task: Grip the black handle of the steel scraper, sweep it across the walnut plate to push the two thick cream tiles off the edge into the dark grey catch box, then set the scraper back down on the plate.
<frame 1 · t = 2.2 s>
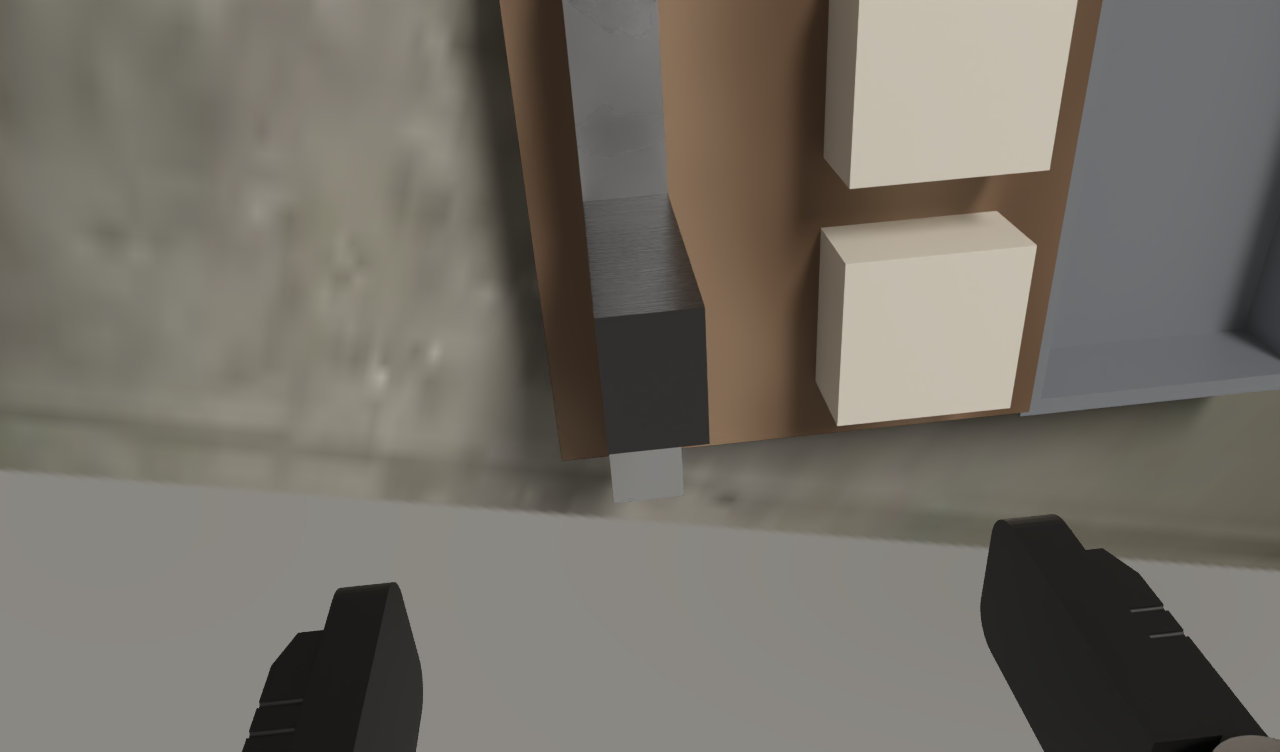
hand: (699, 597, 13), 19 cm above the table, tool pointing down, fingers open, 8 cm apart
cream tile 1: (923, 52, 24), point 4 cm above the table, touching walnut plate
cream tile 2: (902, 299, 27), point 4 cm above the table, touching walnut plate
steel scraper: (621, 212, 25), point 4 cm above the table, touching walnut plate
catch box: (1165, 114, 29), on the table
walnut plate: (773, 151, 29), on the table
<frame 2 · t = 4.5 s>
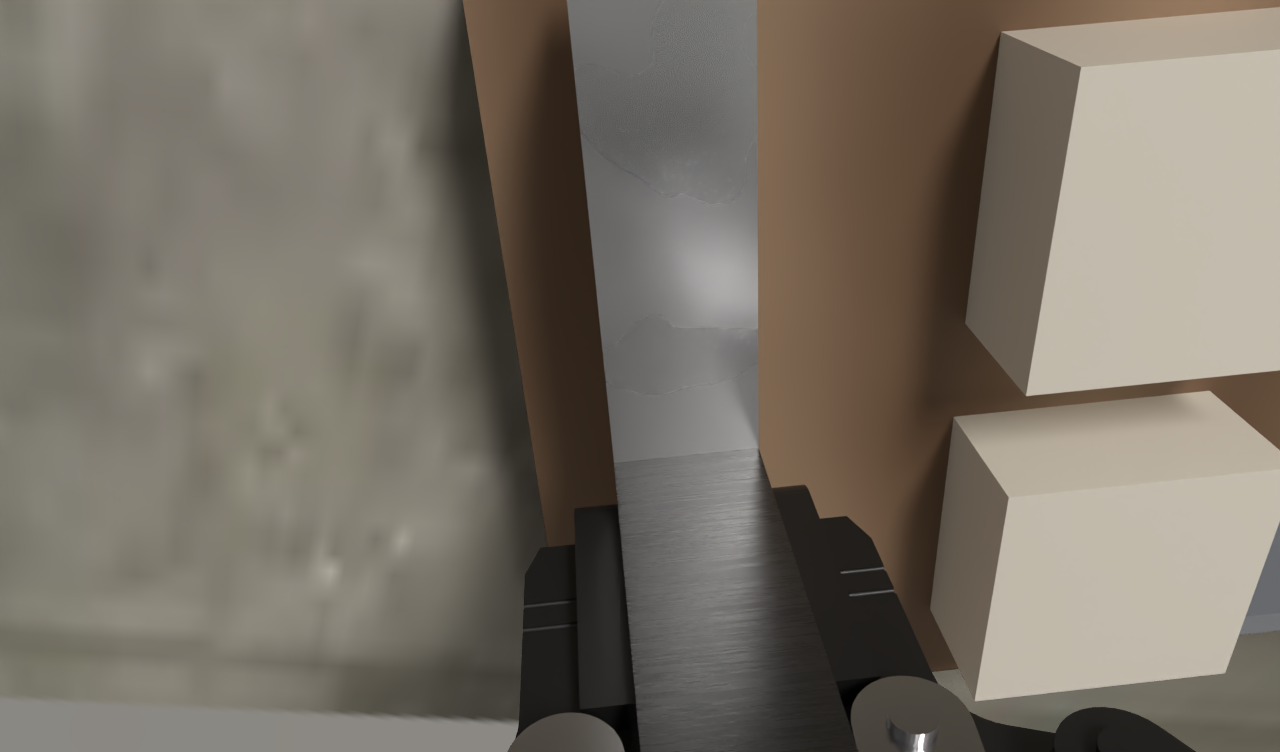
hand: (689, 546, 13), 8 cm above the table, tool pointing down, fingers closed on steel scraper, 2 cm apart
cream tile 1: (1128, 175, 15), point 4 cm above the table, touching walnut plate
cream tile 2: (1061, 506, 19), point 4 cm above the table, touching walnut plate
steel scraper: (669, 425, 16), point 5 cm above the table, touching gripper
walnut plate: (869, 283, 21), on the table
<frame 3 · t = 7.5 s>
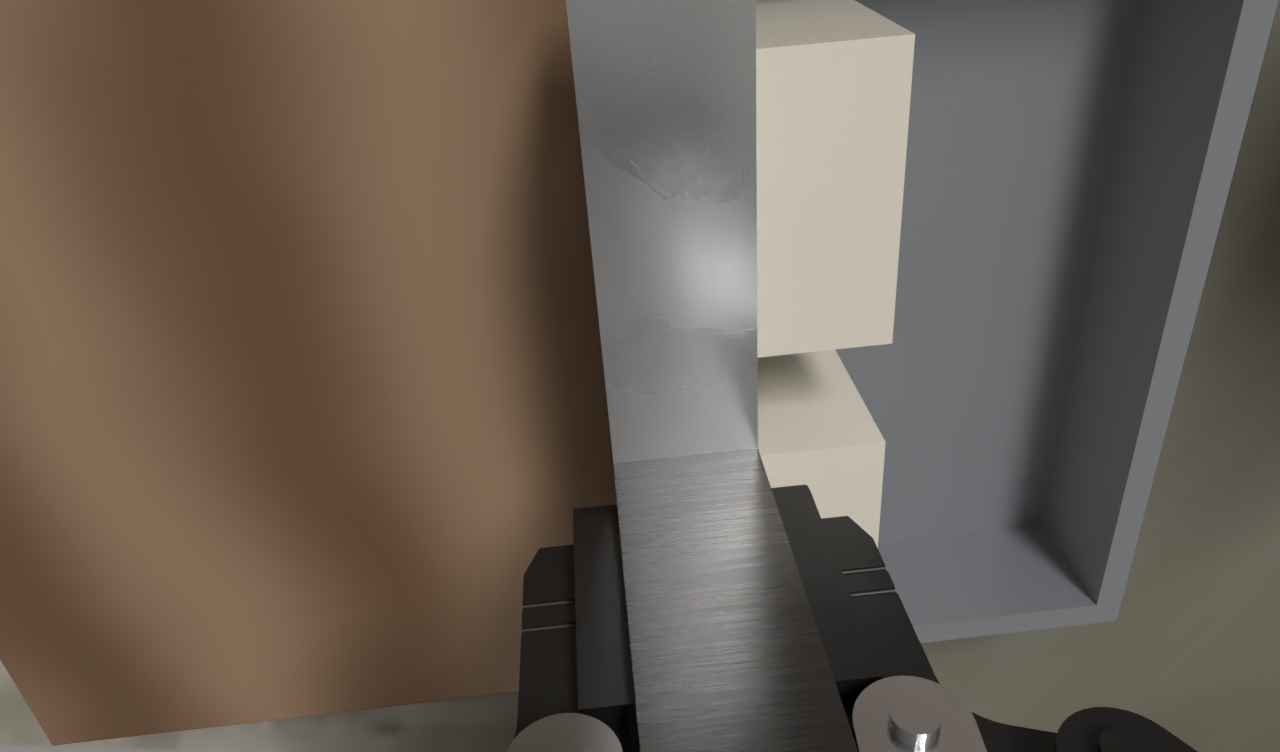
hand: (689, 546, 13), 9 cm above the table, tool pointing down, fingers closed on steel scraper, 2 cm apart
cream tile 1: (718, 168, 16), point 3 cm above the table, tilted 90°, touching catch box
cream tile 2: (728, 483, 20), point 3 cm above the table, tilted 90°, touching catch box
steel scraper: (668, 426, 16), point 6 cm above the table, touching gripper
catch box: (890, 261, 21), on the table
walnut plate: (336, 317, 21), on the table
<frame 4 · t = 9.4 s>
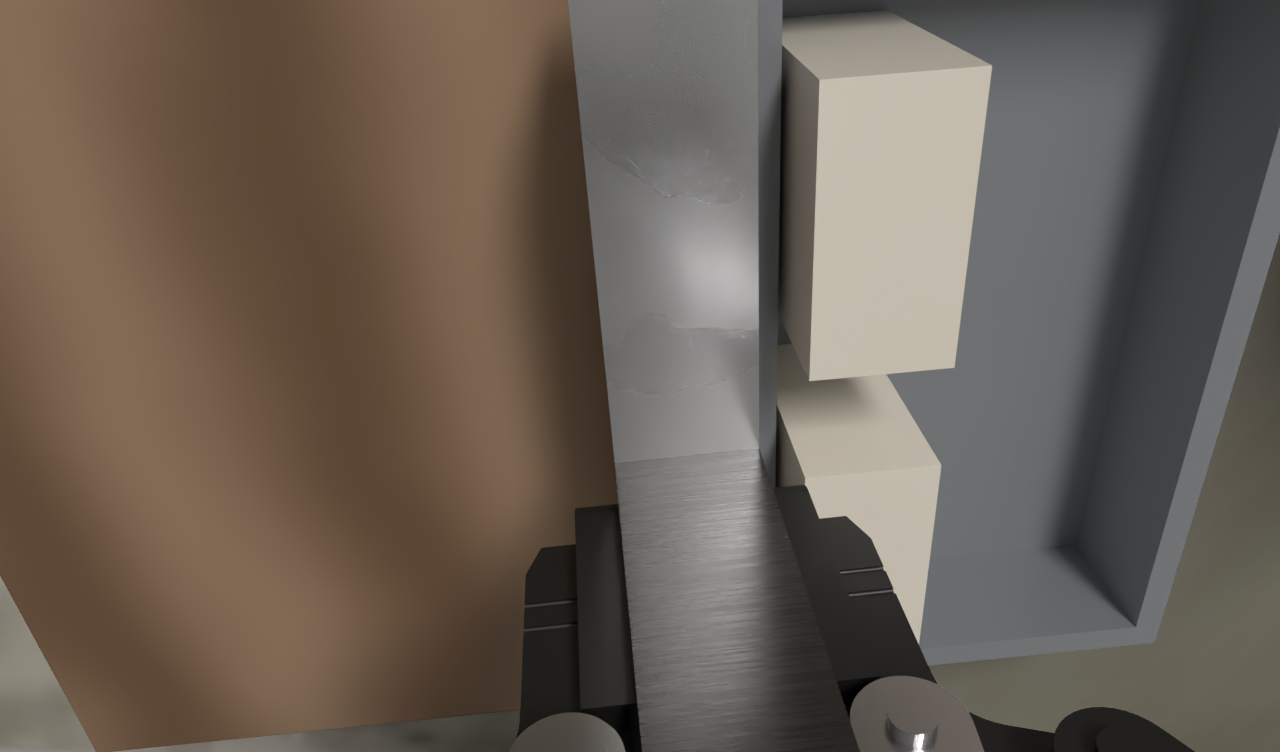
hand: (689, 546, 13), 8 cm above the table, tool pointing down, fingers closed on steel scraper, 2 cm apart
cream tile 1: (781, 191, 17), point 3 cm above the table, tilted 90°, touching catch box
cream tile 2: (775, 502, 20), point 3 cm above the table, tilted 90°, touching catch box
steel scraper: (669, 426, 16), point 5 cm above the table, touching gripper
catch box: (937, 282, 21), on the table
walnut plate: (386, 331, 21), on the table
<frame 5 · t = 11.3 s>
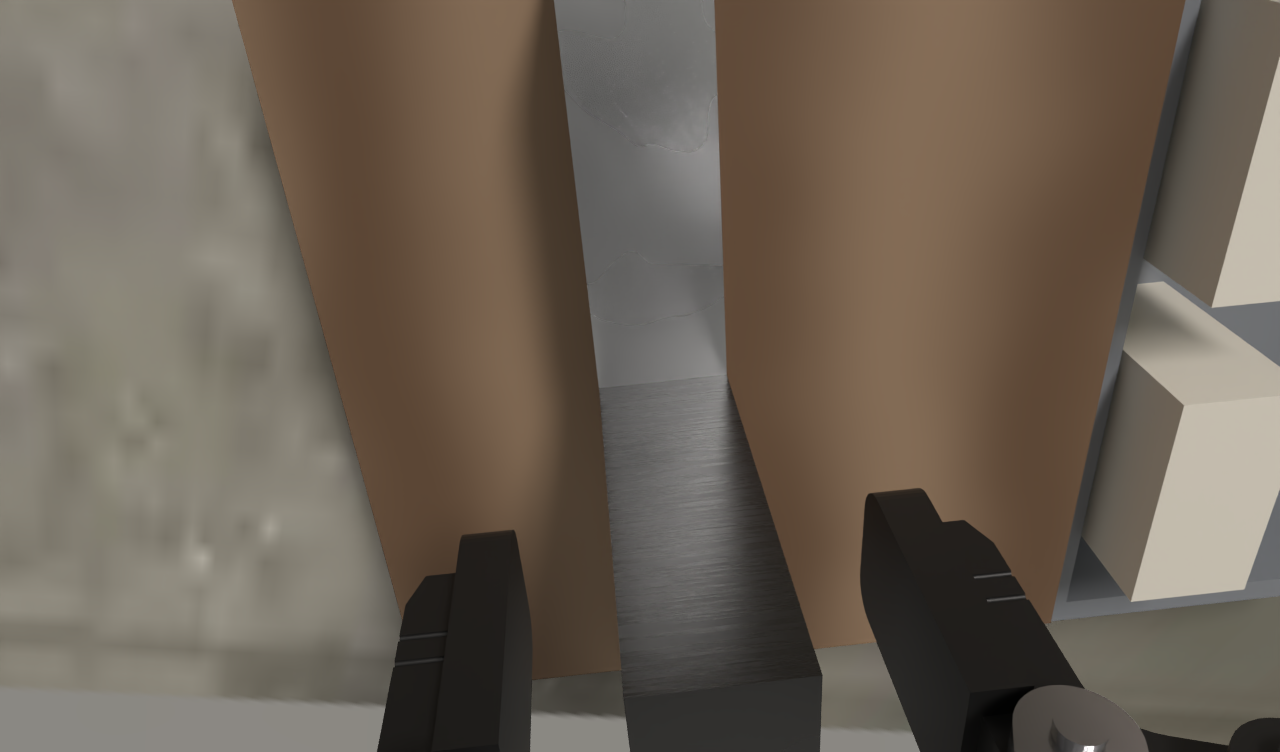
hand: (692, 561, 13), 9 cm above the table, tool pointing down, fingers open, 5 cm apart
cream tile 1: (1162, 127, 17), point 3 cm above the table, tilted 90°, touching catch box
cream tile 2: (1093, 440, 21), point 3 cm above the table, tilted 90°, touching catch box
steel scraper: (652, 368, 18), point 4 cm above the table, touching walnut plate
catch box: (1234, 227, 22), on the table
walnut plate: (705, 278, 21), on the table
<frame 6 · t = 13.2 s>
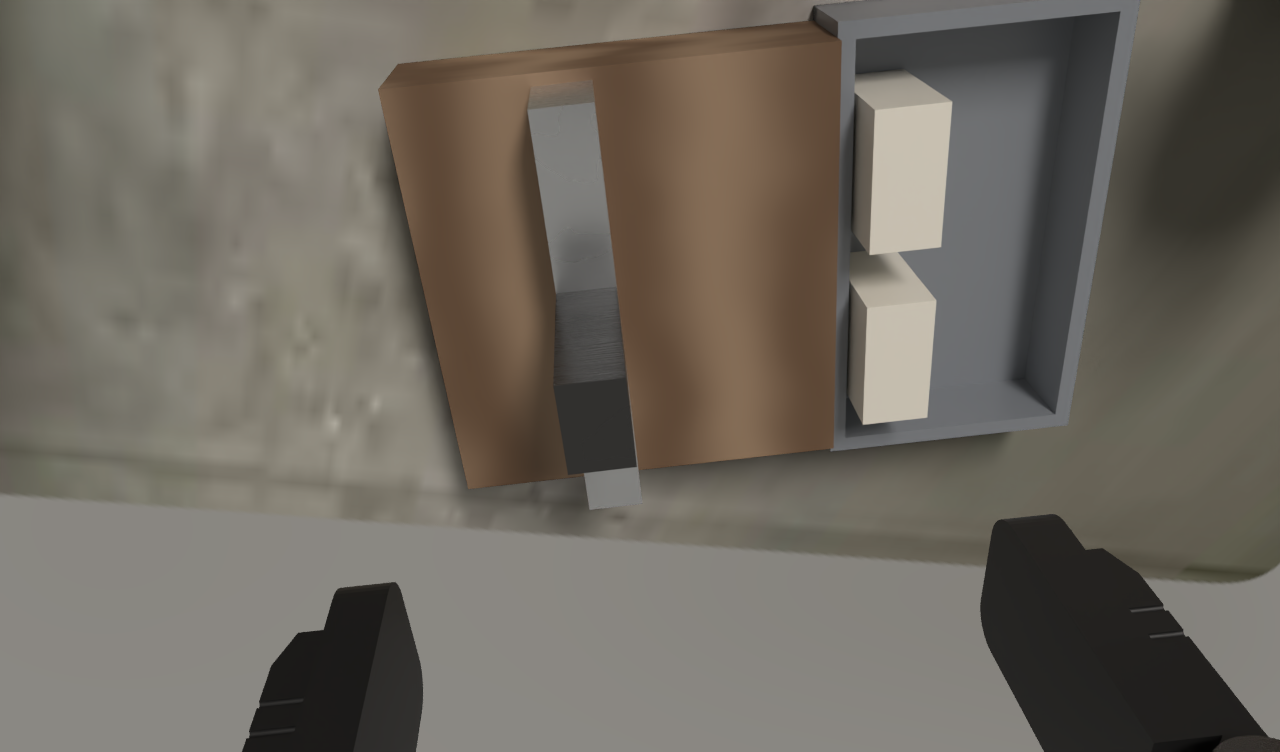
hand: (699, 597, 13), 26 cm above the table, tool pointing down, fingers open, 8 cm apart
cream tile 1: (852, 163, 33), point 3 cm above the table, tilted 90°, touching catch box
cream tile 2: (847, 337, 37), point 3 cm above the table, tilted 90°, touching catch box
steel scraper: (590, 293, 34), point 4 cm above the table, touching walnut plate
catch box: (935, 216, 37), on the table
walnut plate: (627, 249, 37), on the table
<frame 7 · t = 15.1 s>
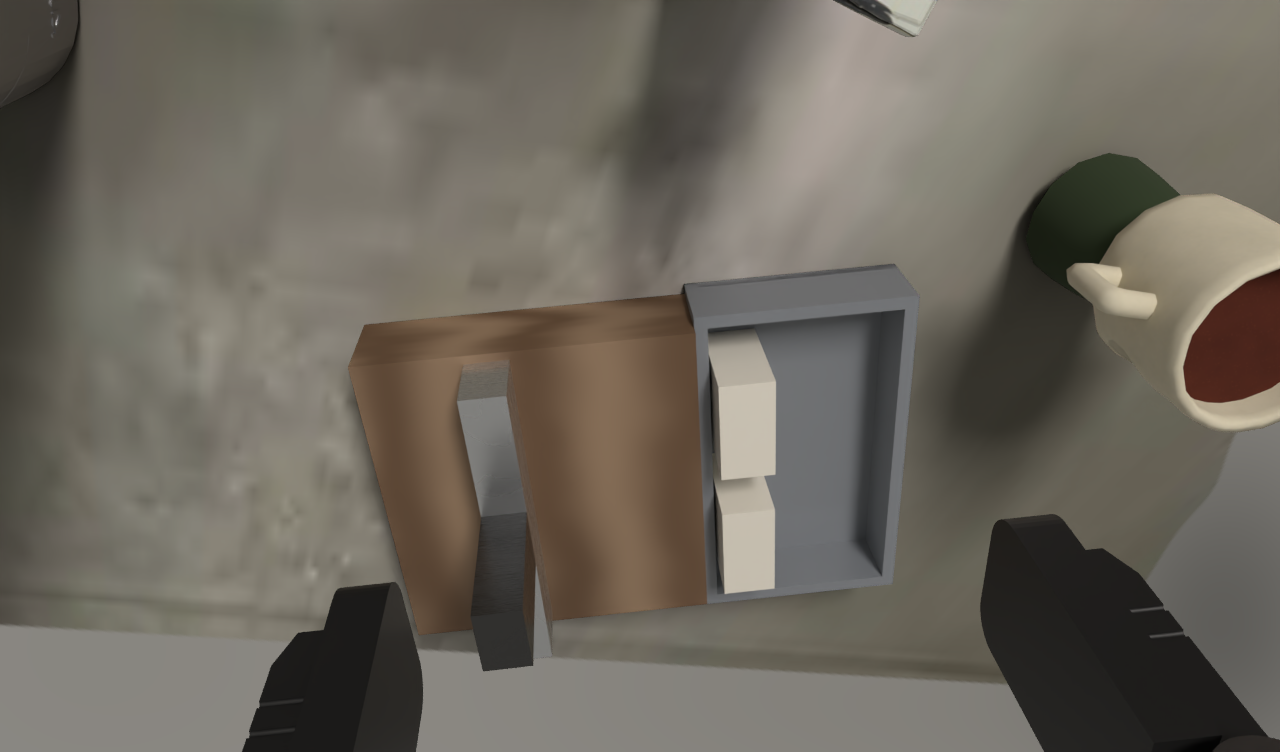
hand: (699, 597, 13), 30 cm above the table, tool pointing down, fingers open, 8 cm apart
cream tile 1: (711, 405, 43), point 3 cm above the table, tilted 90°, touching catch box
cream tile 2: (715, 522, 47), point 3 cm above the table, tilted 90°, touching catch box
steel scraper: (511, 499, 44), point 4 cm above the table, touching walnut plate
catch box: (787, 424, 48), on the table
character mug: (1084, 214, 43), on the table
walnut plate: (545, 449, 47), on the table
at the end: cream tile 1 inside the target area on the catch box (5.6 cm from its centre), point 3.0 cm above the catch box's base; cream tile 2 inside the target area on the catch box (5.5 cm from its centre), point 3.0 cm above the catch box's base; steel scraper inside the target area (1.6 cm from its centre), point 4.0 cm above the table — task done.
